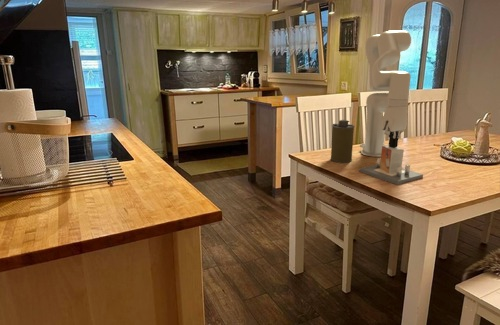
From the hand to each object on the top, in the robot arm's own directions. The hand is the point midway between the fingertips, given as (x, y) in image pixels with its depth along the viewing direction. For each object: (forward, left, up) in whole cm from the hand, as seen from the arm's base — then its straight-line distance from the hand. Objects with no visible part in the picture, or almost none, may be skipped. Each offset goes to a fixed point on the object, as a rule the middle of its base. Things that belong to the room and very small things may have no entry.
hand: (392, 146), depth 143 cm
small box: (0, 0, -11) cm, 11 cm away
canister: (-28, -2, -13) cm, 31 cm away
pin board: (0, 0, -12) cm, 12 cm away
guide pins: (0, 0, -11) cm, 11 cm away
